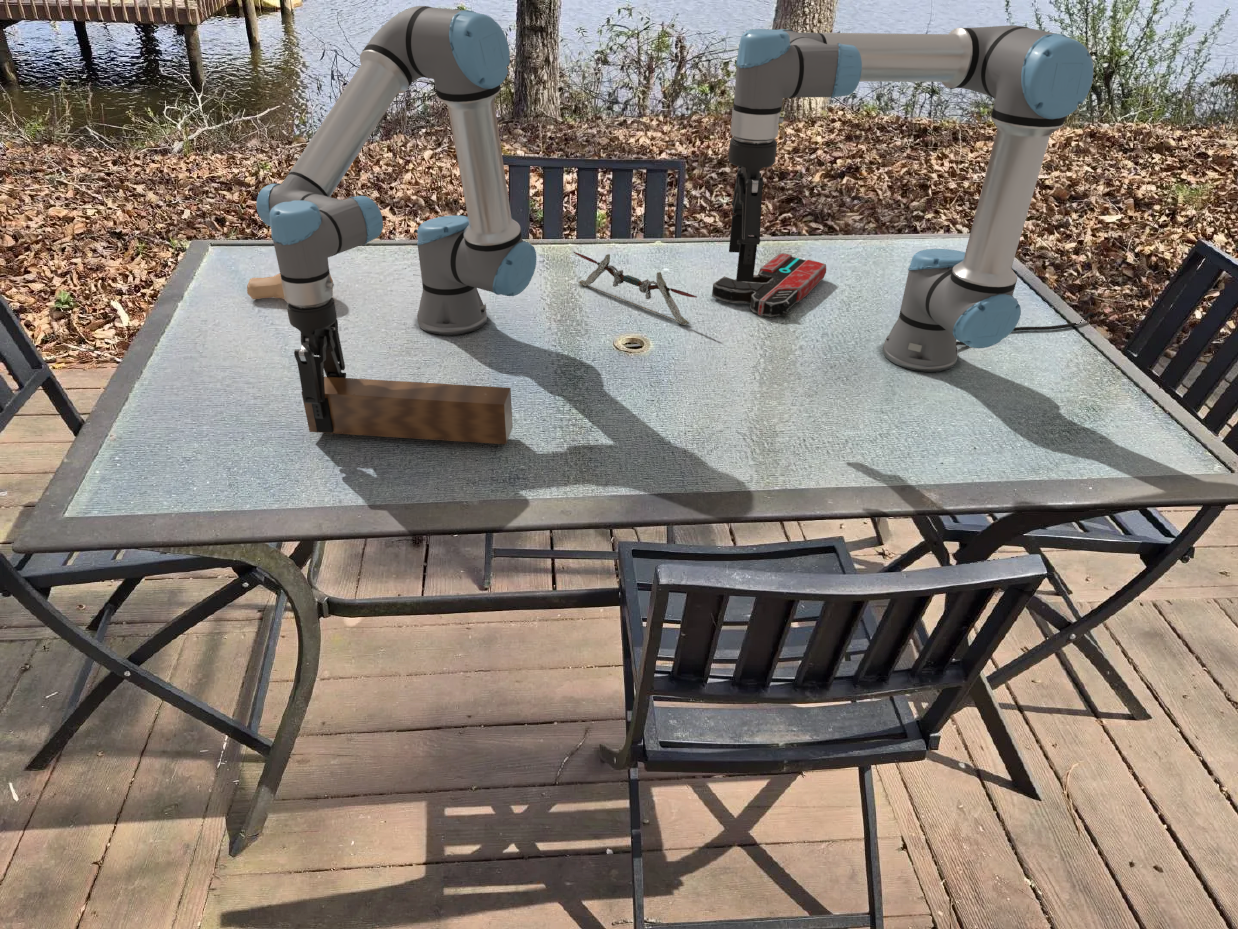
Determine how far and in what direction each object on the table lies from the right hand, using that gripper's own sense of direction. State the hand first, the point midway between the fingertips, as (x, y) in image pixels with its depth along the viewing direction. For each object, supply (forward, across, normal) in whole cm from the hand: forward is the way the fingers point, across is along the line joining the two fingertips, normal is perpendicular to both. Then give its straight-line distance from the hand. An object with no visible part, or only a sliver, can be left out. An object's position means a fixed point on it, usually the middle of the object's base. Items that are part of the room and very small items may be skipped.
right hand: (740, 265), depth 151 cm
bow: (+29, +49, +18) cm, 59 cm away
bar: (+27, -13, +57) cm, 64 cm away
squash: (+29, +45, +97) cm, 111 cm away
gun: (+29, +59, -16) cm, 68 cm away
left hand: (+26, -12, +71) cm, 77 cm away
